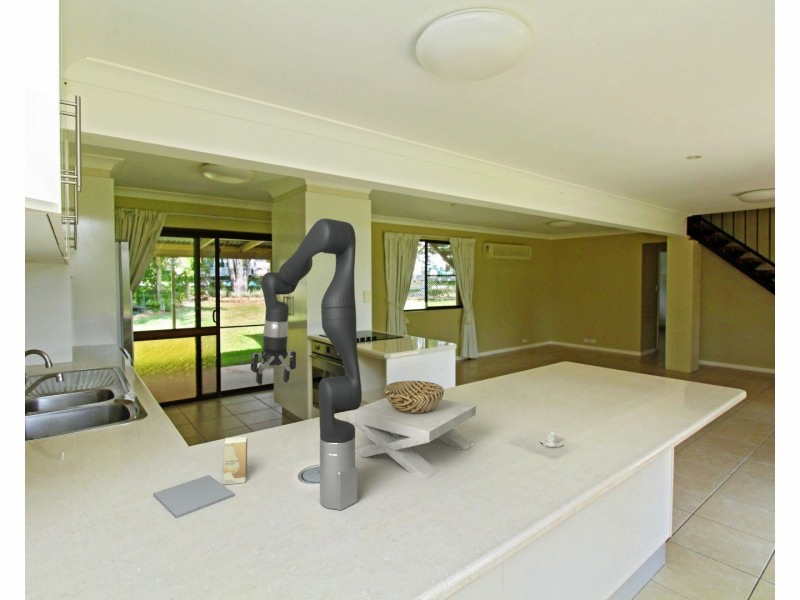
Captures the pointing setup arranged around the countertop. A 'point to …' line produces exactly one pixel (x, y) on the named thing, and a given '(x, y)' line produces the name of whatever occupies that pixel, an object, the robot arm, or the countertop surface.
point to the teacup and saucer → (551, 439)
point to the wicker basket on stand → (410, 423)
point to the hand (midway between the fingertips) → (272, 383)
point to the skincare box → (235, 460)
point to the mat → (192, 495)
